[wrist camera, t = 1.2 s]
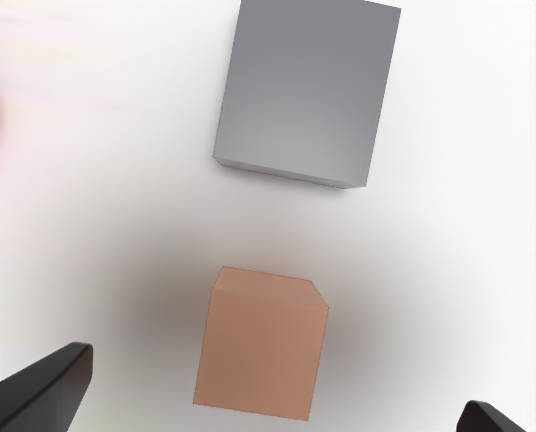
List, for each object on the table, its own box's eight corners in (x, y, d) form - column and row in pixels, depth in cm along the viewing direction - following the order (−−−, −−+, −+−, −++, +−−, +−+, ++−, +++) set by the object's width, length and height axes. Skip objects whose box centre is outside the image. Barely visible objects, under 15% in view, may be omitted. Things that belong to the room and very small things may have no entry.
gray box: (343, 188, 20) (365, 186, 16) (221, 165, 20) (212, 156, 16) (371, 47, 20) (401, 8, 16) (248, 21, 19) (246, -26, 15)
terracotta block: (295, 366, 20) (307, 421, 15) (209, 352, 20) (192, 403, 15) (311, 280, 20) (328, 308, 15) (223, 266, 20) (211, 288, 15)
